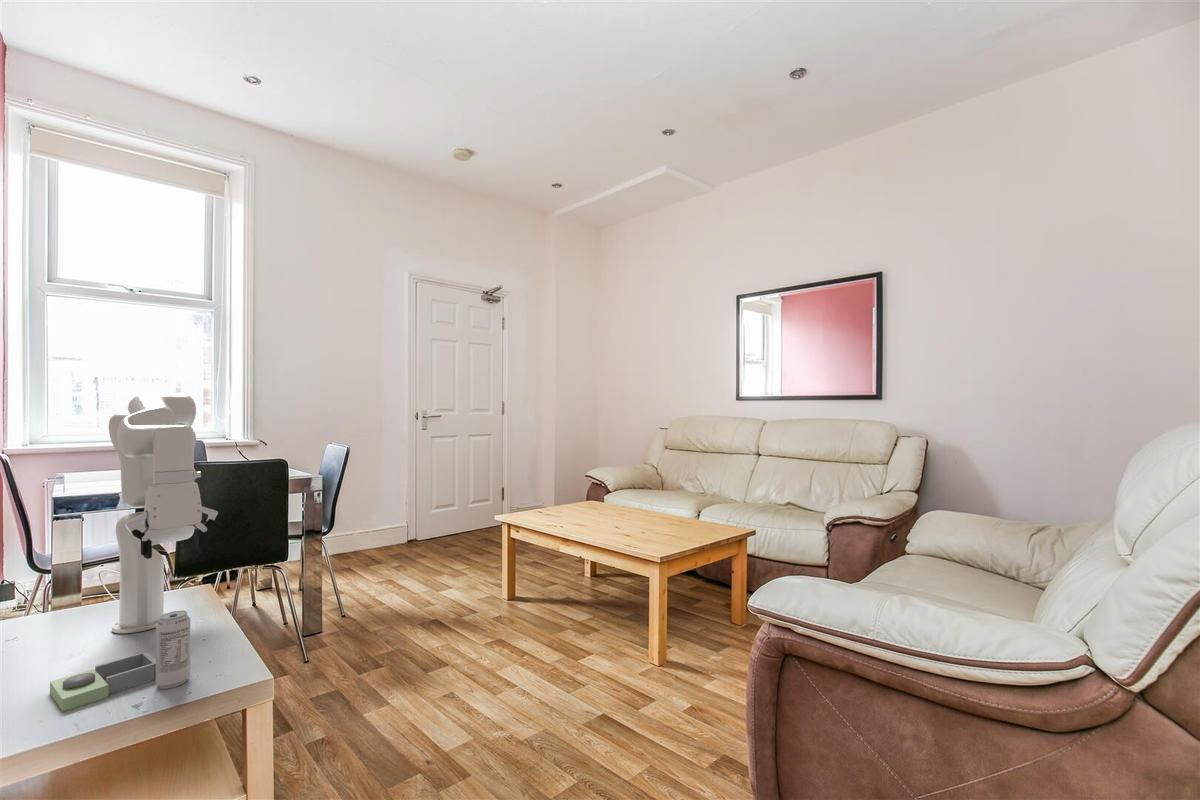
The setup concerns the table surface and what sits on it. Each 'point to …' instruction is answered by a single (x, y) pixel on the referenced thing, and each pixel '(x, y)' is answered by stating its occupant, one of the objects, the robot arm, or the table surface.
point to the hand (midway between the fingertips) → (174, 553)
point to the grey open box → (103, 681)
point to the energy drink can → (172, 649)
